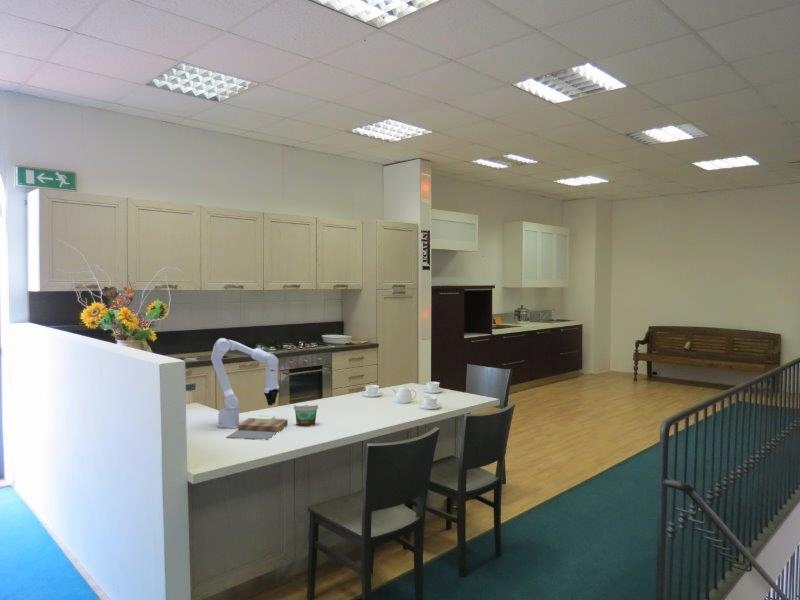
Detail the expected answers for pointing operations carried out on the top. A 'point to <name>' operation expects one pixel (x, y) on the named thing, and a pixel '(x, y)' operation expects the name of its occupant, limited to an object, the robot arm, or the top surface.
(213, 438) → the top surface
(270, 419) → the tile
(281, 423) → the board
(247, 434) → the mat
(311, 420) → the food container
